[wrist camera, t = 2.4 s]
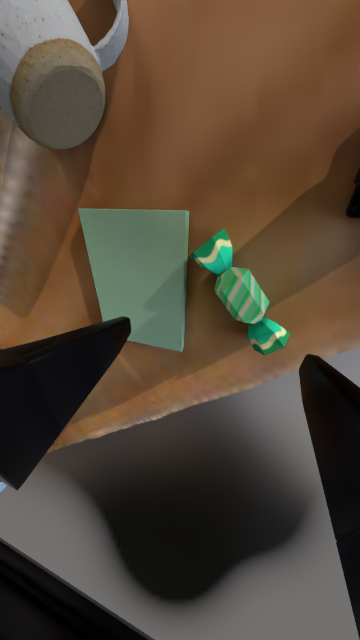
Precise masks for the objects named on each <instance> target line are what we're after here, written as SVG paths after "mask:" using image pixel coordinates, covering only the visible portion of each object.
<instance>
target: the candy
mask: <svg viewBox="0 0 360 640" xmlns="http://www.w3.org/2000/svg"><path fill="white" fill-rule="evenodd" d="M232 249H233V247H232V245H231V243H230V240H229V238H228V236H227V233H226V231H225V229H224V228H223V229H222V230H221V231H219V232H218V233H217V234H215V235H214V236H213V237H212V238H210V239H209V240H208V241H207V242H205V243H204V244H203V245H202V246H200V247H199V248H198V249H197V250H195V251H194V252H193V253H192V254H191V255H190V256H188V257H190V258H191V259H192V260H194V261H195V262H196V263H198V264H199V265H200V266H202V267H203V268H205V269H207V270H209V271H211V272H213V273H215V274H216V275H218V277H217V281H216V285H215V289H214V291H215V293H216V294H217V295H218V297H219V298H220V300H221V301H222V302H223V304H224V305H225V307H226V308H227V310H228V311H229V312H230V314H231V315H232V317H233V318H234V319H235V320H238V321H241V322H244V323H249V329H248V338H249V340H250V342H251V344H252V346H253V348H254V350H256V351H258V352H259V353H261V354H263V355H266V354H269V353H271V352H273V351H276V350H278V349H281V348H283V347H284V346H285V344H286V342H287V340H288V338H289V336H290V333H289V332H288V331H286V330H285V329H284V328H282V327H281V326H280V325H278V324H277V323H275V322H273V321H271V320H269V319H268V318H266V317H264V314H265V311H266V309H267V307H268V304H269V301H268V299H267V297H266V296H265V294H264V293H263V291H262V290H261V288H260V286H259V285H258V283H257V282H256V280H255V278H254V277H253V275H252V274H251V272H250V271H249V269H244V268H236V267H232Z"/></svg>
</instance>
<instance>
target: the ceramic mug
mask: <svg viewBox="0 0 360 640" xmlns="http://www.w3.org/2000/svg"><path fill="white" fill-rule="evenodd" d="M113 3H114V6H115V8H116V10H117V16H116V19H115V21H114V23H113V26H112V28H111V29H110V30H109V32H108V33H107V34H106V36H105V37H104V39H101V40H100V41H99V42H98V44H97V45H95V46H92V45H91V43H90V41H89V39H88V37H87V36H86V34H85V32H84V30H83V28H82V26H81V24H80V22H79V20H78V18H77V16H76V14H75V13H74V11H73V9H72V7H71V6H70V4H69V2H68V0H0V107H1V108H2V110H3V111H4V112H5V113H6V114H7V116H8V117H9V118H10V119H11V120H12V121H13V122H14V123H15V124H16V125H17V126H18V127H19V128H20V129H21V130H22V131H23V132H24V133H25V134H26V135H27V136H28V137H29V138H30V139H32V140H33V141H34V142H36V143H38V144H39V145H41V146H44V147H46V148H50V149H55V150H64V149H70V148H73V147H75V146H78V145H80V144H81V143H83V142H85V141H86V140H87V139H88V138H89V137H90V136H91V135H92V134H93V133H94V131H95V130H96V128H97V126H98V124H99V122H100V120H101V118H102V115H103V111H104V107H105V84H104V79H103V75H102V72H103V71H105V70H106V69H107V68H109V67H110V66H112V65H113V64H114V63H115V62H116V60H117V58H118V56H119V55H120V54H121V52H122V50H123V48H124V46H125V43H126V39H127V35H128V26H129V17H128V7H127V0H113Z"/></svg>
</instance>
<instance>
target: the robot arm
mask: <svg viewBox="0 0 360 640" xmlns="http://www.w3.org/2000/svg"><path fill="white" fill-rule="evenodd" d="M354 184H355V186H356V188H355V190H354V193H353V195H352V198H351V200H350V202H349V205H348V207H347V210H346V216H348V217H350V218H360V168H359V170H358V173H357V175H356V178H355V180H354ZM356 206H358V207H359V210H358V212H357V213H355V214H353V209H354V208H355V207H356ZM130 334H131V322H130V318H129V317H125V316H121V317H118V318H114V319H111V320H108V321H104V322H101V323H97V324H94V325H90V326H87V327H84V328H80V329H77V330H73V331H70V332H67V333H63V334H60V335H56V336H53V337H49V338H46V339H42V340H39V341H35V342H31V343H27V344H23V345H19V346H15V347H11V348H6V349H2V350H0V481H1V482H3V483H5V484H7V485H8V486H10V487H12V488H14V489H16V490H18V489H19V488H20V487H21V486H22V484H23V483H24V482H25V480H26V479H27V478H28V476H29V475H30V474H31V472H32V471H33V470H34V468H35V467H36V466H37V464H38V463H39V462H40V460H41V459H42V457H43V456H44V455H45V453H46V452H47V451H48V449H49V448H50V447H51V445H52V444H53V443H54V441H55V440H56V438H57V437H58V436H59V434H60V433H61V432H62V430H63V428H64V427H65V426H66V425H67V423H68V422H69V421H70V419H71V418H72V417H73V415H74V414H75V413H76V411H77V410H78V409H79V407H80V406H81V404H82V403H83V402H84V400H85V399H86V398H87V396H88V395H89V394H90V392H91V391H92V390H93V388H94V387H95V385H96V384H97V383H98V381H99V380H100V379H101V377H102V376H103V375H104V373H105V372H106V371H107V369H108V368H109V367H110V365H111V364H112V362H113V361H114V360H115V358H116V357H117V356H118V354H119V353H120V351H121V349H122V348H123V346H124V344H125V342H126V341H127V339H128V337H129V336H130ZM299 376H300V385H301V394H302V402H303V406H304V411H305V415H306V419H307V423H308V428H309V432H310V435H311V440H312V444H313V448H314V452H315V457H316V460H317V465H318V469H319V473H320V477H321V481H322V485H323V489H324V494H325V497H326V502H327V506H328V510H329V514H330V518H331V522H332V527H333V531H334V535H335V539H336V541H337V542H336V544H337V548H338V552H339V556H340V560H341V564H342V569H343V573H344V577H345V581H346V585H347V589H348V593H349V597H350V601H351V606H352V610H353V614H354V618H355V622H356V626H357V630H358V634H359V638H360V388H359V387H358V386H357V385H356V384H354V383H353V382H352V381H350V380H349V379H348V378H346V377H345V376H344V375H342V374H341V373H340V372H338V371H337V370H336V369H335V368H333V367H332V366H330V365H329V364H328V363H327V362H325V361H324V360H323V359H322V358H320V357H319V356H316V355H311V354H307V355H306V356H305V358H304V360H303V362H302V364H301V366H300V368H299ZM0 640H154V639H153V638H151V637H150V636H148V635H147V634H145V633H144V632H142V631H141V630H139V629H137V628H136V627H134V626H133V625H132V624H130V623H129V622H127V621H126V620H124V619H122V618H121V617H119V616H118V615H116V614H115V613H113V612H112V611H110V610H109V609H107V608H106V607H104V606H103V605H101V604H100V603H98V602H97V601H95V600H94V599H92V598H91V597H89V596H88V595H86V594H85V593H83V592H82V591H80V590H79V589H77V588H76V587H74V586H73V585H71V584H70V583H68V582H67V581H65V580H63V579H62V578H60V577H59V576H57V575H56V574H54V573H53V572H51V571H50V570H48V569H47V568H45V567H44V566H42V565H41V564H39V563H38V562H36V561H35V560H33V559H32V558H30V557H29V556H27V555H26V554H24V553H23V552H21V551H20V550H18V549H16V548H15V547H14V546H12V545H11V544H9V543H8V542H6V541H4V540H3V539H1V538H0Z"/></svg>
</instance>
